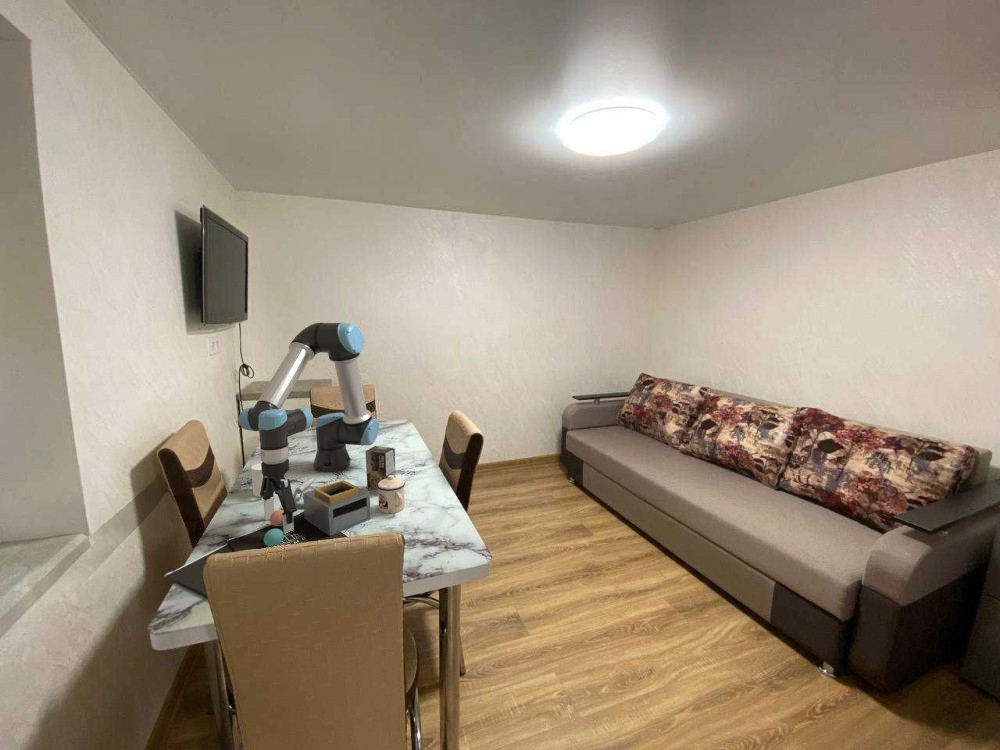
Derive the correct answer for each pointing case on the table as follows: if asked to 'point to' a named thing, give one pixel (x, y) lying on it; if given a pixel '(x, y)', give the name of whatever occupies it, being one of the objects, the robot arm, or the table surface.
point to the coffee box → (379, 466)
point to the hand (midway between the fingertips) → (279, 525)
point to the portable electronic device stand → (302, 489)
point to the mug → (257, 479)
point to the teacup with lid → (391, 495)
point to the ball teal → (273, 537)
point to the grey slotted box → (337, 507)
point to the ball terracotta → (277, 518)
